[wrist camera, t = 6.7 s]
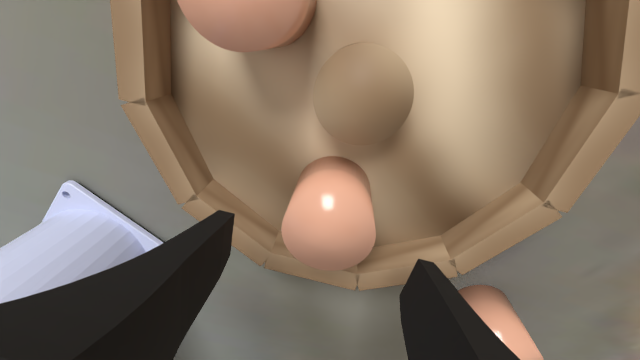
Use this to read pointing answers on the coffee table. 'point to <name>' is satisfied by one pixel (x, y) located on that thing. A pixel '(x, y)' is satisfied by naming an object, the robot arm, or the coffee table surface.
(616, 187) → the coffee table surface
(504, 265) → the coffee table surface
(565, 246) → the coffee table surface
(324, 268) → the bead
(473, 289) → the bead
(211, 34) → the bead
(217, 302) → the coffee table surface
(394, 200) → the ring tray
